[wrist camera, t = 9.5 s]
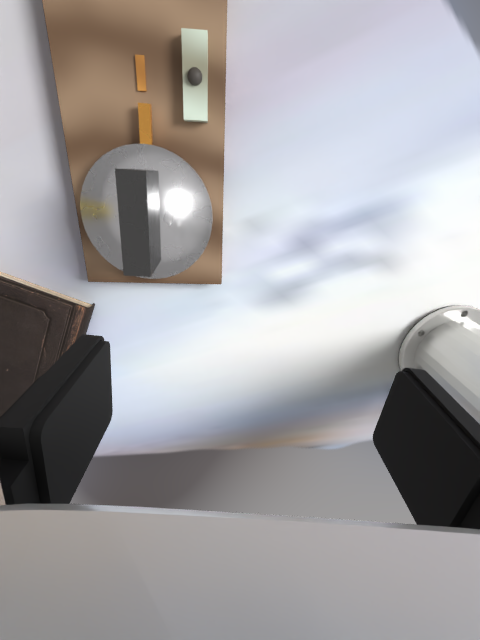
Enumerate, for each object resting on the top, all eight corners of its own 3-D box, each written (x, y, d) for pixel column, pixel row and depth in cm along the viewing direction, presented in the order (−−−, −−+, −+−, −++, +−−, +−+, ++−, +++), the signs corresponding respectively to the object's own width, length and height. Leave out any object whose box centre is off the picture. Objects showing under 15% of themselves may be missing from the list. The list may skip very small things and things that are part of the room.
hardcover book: (-72, 406, 42) (-87, 418, 40) (-56, 245, 34) (-74, 250, 32) (54, 439, 46) (47, 452, 44) (97, 302, 37) (90, 309, 35)
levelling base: (221, 278, 37) (221, 290, 33) (94, 275, 35) (81, 287, 32) (226, 0, 26) (228, -27, 23) (49, -16, 25) (23, -46, 22)
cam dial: (210, 277, 34) (209, 301, 28) (94, 271, 33) (65, 295, 27) (216, 112, 28) (216, 95, 22) (73, 97, 27) (28, 75, 20)
